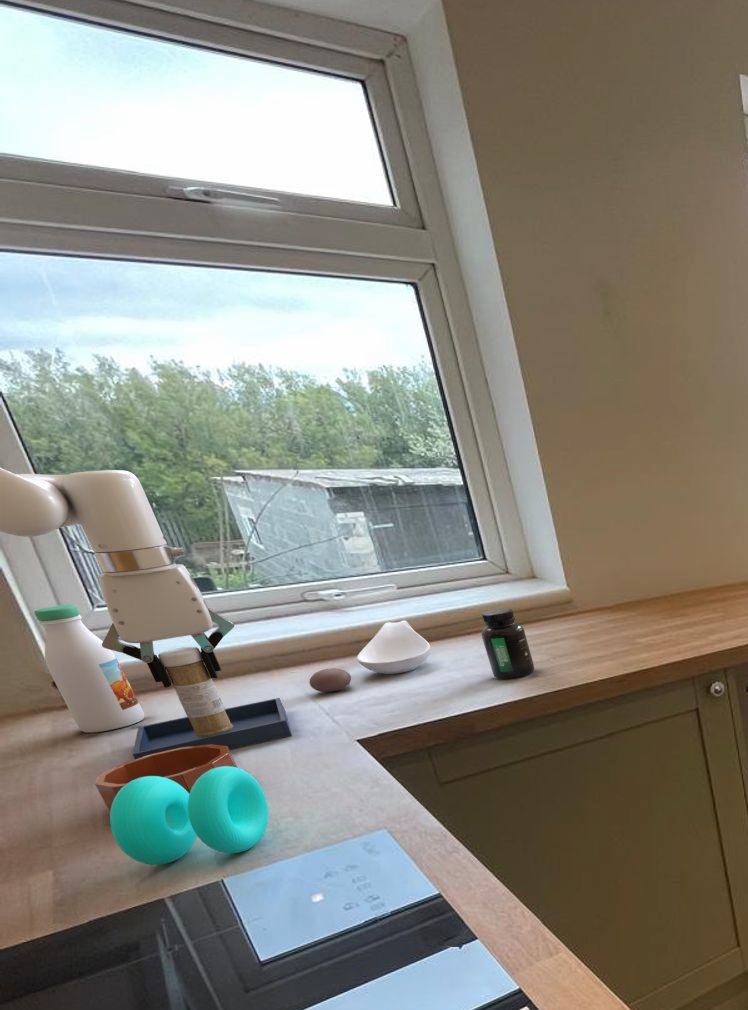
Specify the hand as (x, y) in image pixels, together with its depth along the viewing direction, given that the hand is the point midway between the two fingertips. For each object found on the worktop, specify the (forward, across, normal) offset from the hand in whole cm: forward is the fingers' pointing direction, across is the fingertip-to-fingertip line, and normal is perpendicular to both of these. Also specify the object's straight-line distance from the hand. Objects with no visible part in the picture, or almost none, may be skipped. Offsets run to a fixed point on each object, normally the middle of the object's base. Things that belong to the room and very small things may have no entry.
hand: (191, 679), depth 123 cm
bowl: (+10, +4, +25) cm, 27 cm away
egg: (+10, -16, -15) cm, 24 cm away
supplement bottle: (+10, -42, +1) cm, 43 cm away
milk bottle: (+10, +13, -23) cm, 28 cm away
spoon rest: (+10, -28, -26) cm, 40 cm away
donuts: (+10, +1, +48) cm, 49 cm away
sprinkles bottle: (+9, 0, 0) cm, 9 cm away
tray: (+10, 0, 0) cm, 10 cm away
